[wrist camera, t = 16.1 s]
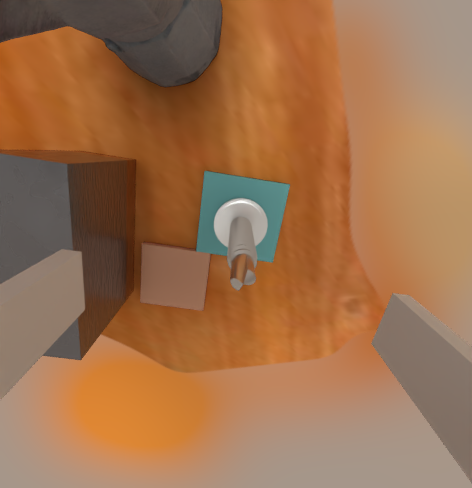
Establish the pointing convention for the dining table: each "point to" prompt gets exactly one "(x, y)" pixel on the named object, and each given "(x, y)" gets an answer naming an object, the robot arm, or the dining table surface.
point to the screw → (241, 237)
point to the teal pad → (230, 187)
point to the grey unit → (71, 229)
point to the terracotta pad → (173, 276)
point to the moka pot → (130, 31)
